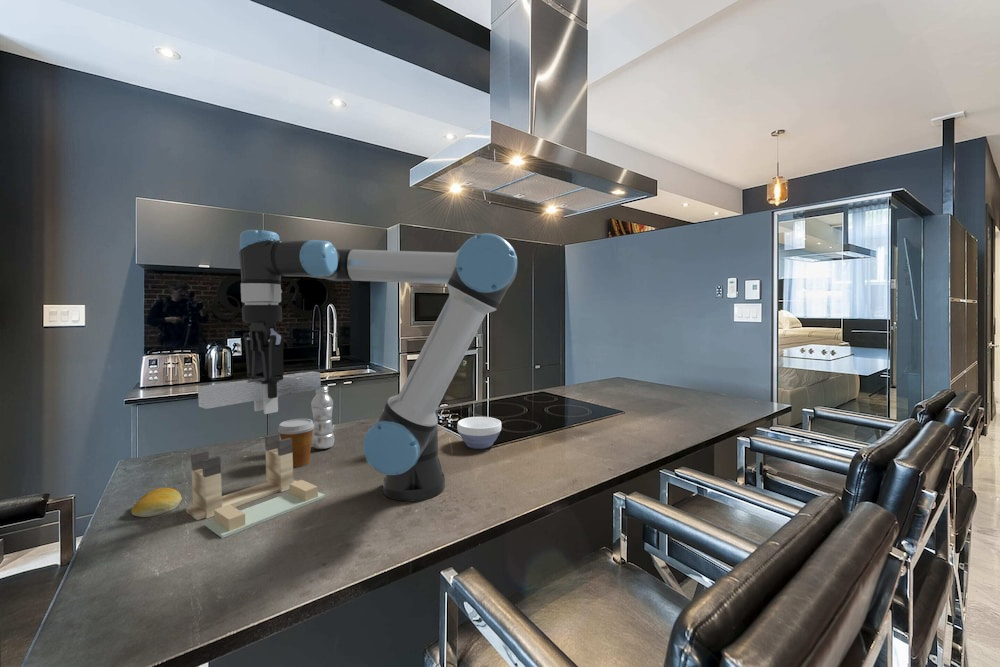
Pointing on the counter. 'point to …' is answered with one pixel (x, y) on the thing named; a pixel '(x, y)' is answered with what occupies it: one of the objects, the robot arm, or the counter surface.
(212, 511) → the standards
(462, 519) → the counter surface
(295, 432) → the disposable coffee cup
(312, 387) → the rail
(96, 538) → the counter surface
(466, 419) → the bowl
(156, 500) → the bread roll
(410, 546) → the counter surface
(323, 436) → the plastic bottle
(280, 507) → the rest pad
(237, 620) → the counter surface
